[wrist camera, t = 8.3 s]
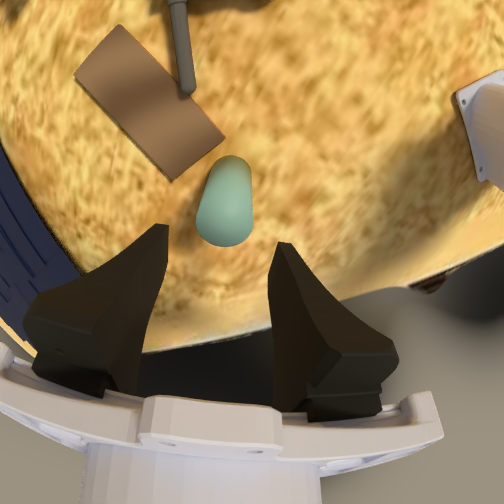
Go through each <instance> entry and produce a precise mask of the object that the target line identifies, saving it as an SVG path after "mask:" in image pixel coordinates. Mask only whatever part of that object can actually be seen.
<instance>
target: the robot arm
mask: <svg viewBox="0 0 504 504" xmlns="http://www.w3.org/2000/svg"><path fill="white" fill-rule="evenodd" d="M456 99H457V102H458V105H459V108H460V111H461V114H462V117H463V121H464V124H465V127H466V131H467V134H468V138H469V142H470V146H471V150H472V155H473V159H474V164H475V169H476V174H477V179H478V181H480V182H483V181H485V180H486V179H487V180H489V181H490V182H491V183H493V184H494V185H495V186H496V187H498V188H499V189H500V190H502V191H503V192H504V70H502V69H499V70H497V71H495V72H493V73H491V74H489V75H487V76H485V77H483V78H481V79H479V80H478V81H476V82H474V83H472V84H470V85H468V86H466V87H464V88H462V89H460V90H458V91H457V92H456ZM462 100H463V104H462ZM479 169H480V170H479ZM168 236H169V225H164V224H157V223H156V224H154V225H153V226H152V227H151V228H149V229H148V230H147V231H146V232H145V233H144V234H143V235H141V236H140V237H139V238H138V239H137V240H135V241H134V242H133V243H132V244H131V245H129V246H128V247H127V248H126V249H124V250H123V251H122V252H120V253H119V254H118V255H116V256H115V257H114V258H112V259H111V260H109V261H108V262H106V263H105V264H103V265H101V266H100V267H98V268H96V269H95V270H93V271H91V272H89V273H87V274H85V275H83V276H81V277H79V278H77V279H75V280H73V281H71V282H68V283H66V284H63V285H61V286H58V287H55V288H52V289H49V290H46V291H43V292H40V293H37V295H36V296H35V298H34V300H33V301H32V303H31V305H30V306H29V308H28V310H27V312H26V313H25V315H24V317H23V320H22V325H23V329H24V331H25V333H26V335H27V336H28V338H29V340H30V341H31V343H32V344H33V346H34V347H35V349H36V350H37V352H38V353H37V355H36V357H35V360H34V362H33V364H32V363H29V362H27V361H25V360H22V359H20V358H18V357H16V356H15V355H14V354H13V352H12V351H11V349H10V348H9V347H8V346H7V345H6V344H4V343H3V342H1V341H0V411H1V412H2V413H4V414H6V415H7V416H9V417H11V418H12V419H14V420H16V421H18V422H19V423H21V424H23V425H25V426H27V427H28V428H30V429H32V430H34V431H36V432H38V433H40V434H42V435H44V436H46V437H48V438H50V439H52V440H54V441H57V442H59V443H61V444H63V445H66V446H68V447H70V448H72V449H75V450H77V451H80V452H82V453H85V454H87V456H86V461H85V467H84V473H83V480H82V487H81V494H80V504H322V500H321V488H320V478H319V477H324V476H329V475H335V474H340V473H344V472H350V471H354V470H358V469H362V468H366V467H370V466H374V465H377V464H381V463H385V462H388V461H392V460H395V459H398V458H402V457H405V456H408V455H410V454H412V453H415V452H417V451H419V450H421V449H423V448H425V447H427V446H429V445H430V444H432V443H434V442H436V441H438V440H440V439H441V438H443V437H444V433H443V429H442V425H441V422H440V419H439V416H438V412H437V409H436V406H435V403H434V400H433V397H432V394H431V391H424V392H419V393H414V394H411V395H409V396H407V397H405V398H404V399H403V400H402V401H400V403H396V404H390V405H384V406H382V405H381V401H380V397H379V394H380V393H382V388H381V383H382V382H383V381H384V380H385V379H386V378H387V377H388V376H389V375H390V374H391V373H393V371H394V370H395V369H396V368H397V365H398V364H399V357H398V354H397V351H396V349H395V346H394V343H393V341H392V340H391V339H389V338H388V337H386V336H384V335H383V334H381V333H379V332H378V331H376V330H374V329H373V328H371V327H370V326H368V325H367V324H366V323H364V322H363V321H361V320H360V319H359V318H357V317H356V316H355V315H353V314H352V313H351V312H350V311H349V310H347V309H346V308H345V307H344V306H343V305H342V304H341V303H340V302H339V301H338V300H337V299H336V298H335V297H334V296H333V295H332V294H331V293H330V292H329V291H328V290H327V289H326V288H325V287H324V286H323V285H322V283H321V282H320V281H319V280H318V279H317V278H316V276H315V275H314V274H313V273H312V271H311V270H310V269H309V267H308V266H307V265H306V263H305V262H304V260H303V259H302V258H301V256H300V255H299V254H298V252H297V251H296V249H295V248H294V247H293V245H292V244H291V243H284V242H278V244H277V247H276V251H275V254H274V257H273V260H272V264H271V267H270V270H269V273H268V300H269V308H270V316H271V323H272V331H273V341H274V381H273V382H274V383H273V404H272V407H269V406H262V405H253V404H238V403H237V404H236V403H226V402H215V401H206V400H198V399H190V398H183V397H177V396H165V395H156V396H152V397H148V398H146V399H145V398H141V397H136V396H135V395H136V386H137V378H138V370H139V365H140V358H141V353H142V348H143V343H144V338H145V333H146V329H147V325H148V321H149V318H150V315H151V312H152V309H153V307H154V304H155V301H156V299H157V296H158V293H159V290H160V288H161V285H162V282H163V280H164V276H165V272H166V268H167V263H168Z"/></svg>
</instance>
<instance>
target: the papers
mask: <svg viewBox="0 0 504 504" xmlns="http://www.w3.org/2000/svg"><path fill="white" fill-rule="evenodd" d="M79 277H81V275H80V274H79V272H78V271H77V270H76V268H75V267H74V266H73V264H72V263H71V261H70V260H69V259H68V257H67V256H66V254H65V253H64V252H63V250H62V249H61V247H60V246H59V244H58V243H56V242H55V240H54V239H53V238H52V236H51V235H50V233H49V232H48V230H47V229H46V227H45V226H44V224H43V223H42V221H41V219H40V218H39V216H38V215H37V213H36V212H35V210H34V208H33V207H32V205H31V203H30V202H29V200H28V198H27V197H26V195H25V193H24V191H23V190H22V188H21V186H20V184H19V182H18V180H17V179H16V177H15V175H14V173H13V171H12V169H11V167H10V165H9V163H8V161H7V159H6V157H5V155H4V153H3V151H2V148H1V146H0V317H1V318H2V319H3V320H4V322H5V323H6V324H7V325H8V326H10V327H11V328H12V329H13V330H14V332H15V333H16V334H17V335H18V336H19V337H20V338H21V339H22V340H23V341H26V340H27V342H28V343H29V344H30V345H31V346H32V347H33V348H34V349H35V347H34V346H33V344H32V343H31V341H30V340H29V338H28V336H27V335H26V333H25V331H24V329H23V325H22V320H23V317H24V315H25V313H26V312H27V310H28V308H29V306H30V305H31V303H32V301H33V300H34V298H35V296H36V295H37V293H40V292H43V291H46V290H49V289H52V288H55V287H58V286H61V285H63V284H66V283H68V282H71V281H73V280H75V279H77V278H79ZM35 350H36V349H35ZM36 351H37V350H36Z"/></svg>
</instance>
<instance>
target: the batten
mask: <svg viewBox="0 0 504 504" xmlns="http://www.w3.org/2000/svg"><path fill="white" fill-rule="evenodd" d="M73 75H74V76H75V77H76V78H77V79H78V80H79V82H80V83H81V84H82V85H83V86H84V87H85V88H86V89H87V90H88V91H89V92H90V93H91V94H92V95H93V97H94V98H95V99H96V100H97V101H98V102H99V103H100V104H101V105H102V106H103V107H104V108H105V109H106V110H107V112H108V113H109V114H110V115H111V116H112V117H113V118H114V119H115V120H116V121H117V122H118V123H119V124H120V125H121V126H122V128H123V129H124V130H125V131H126V132H127V133H128V134H129V135H130V136H131V137H132V138H133V139H134V140H135V141H136V142H137V143H138V145H139V146H140V147H141V148H142V149H143V150H144V151H145V152H146V153H147V154H148V155H149V156H150V157H151V158H152V159H153V160H154V161H155V162H156V164H157V165H158V166H159V167H160V168H161V169H162V170H163V171H164V172H165V173H166V174H167V175H168V176H169V177H170V178H171V179H172V180H174V179H175V178H176V177H177V176H179V175H180V174H181V173H182V172H183V171H185V170H186V169H187V168H188V167H190V166H191V165H192V164H193V163H194V162H196V161H197V160H198V159H199V158H201V157H202V156H203V155H204V154H206V153H207V152H208V151H210V150H211V149H212V148H213V147H215V146H216V145H217V144H219V143H220V142H221V141H223V140H224V139H225V136H224V135H223V134H222V132H221V131H220V130H219V129H218V128H217V127H216V125H215V124H214V123H213V122H212V121H211V120H210V118H209V117H208V116H207V115H206V114H205V113H204V112H203V110H202V109H201V108H200V107H199V106H198V105H197V104H196V103H195V101H194V100H193V99H192V98H191V97H190V96H189V95H188V94H185V93H183V92H182V91H181V88H180V85H179V84H178V83H177V82H176V81H175V79H174V78H173V77H172V76H171V75H170V74H169V73H168V72H167V71H166V70H165V69H164V68H163V67H162V66H161V65H160V64H159V62H158V61H157V60H156V59H155V58H154V57H153V56H152V55H151V54H150V53H149V52H148V51H147V50H146V49H145V48H144V47H143V46H142V45H141V44H140V43H139V42H138V41H137V40H136V39H135V38H134V37H133V36H132V35H131V34H130V33H129V32H128V31H127V30H126V29H125V28H124V27H123V26H122V25H120V24H118V25H117V26H116V27H115V28H114V29H113V30H112V31H111V32H110V33H109V34H108V35H107V36H106V37H105V38H104V39H103V40H102V41H101V42H100V43H99V45H98V46H97V47H96V48H95V49H94V50H93V51H92V52H91V54H90V55H89V56H88V57H87V58H86V59H85V61H84V62H83V63H82V64H81V65H80V67H79V68H78V69H77V70H76V72H75V73H74V74H73Z"/></svg>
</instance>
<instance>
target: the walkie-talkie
mask: <svg viewBox="0 0 504 504" xmlns="http://www.w3.org/2000/svg"><path fill="white" fill-rule="evenodd" d="M187 3H188V0H167V6H168V7H170V15H171V23H172V31H173V39H174V47H175V54H176V61H177V68H178V75H179V81H180V88H181V91H182V92H183V93H185V94H191V93H193V92H194V91H195V90H196V80H195V72H194V65H193V58H192V50H191V43H190V35H189V26H188V18H187V9H186V4H187Z"/></svg>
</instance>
